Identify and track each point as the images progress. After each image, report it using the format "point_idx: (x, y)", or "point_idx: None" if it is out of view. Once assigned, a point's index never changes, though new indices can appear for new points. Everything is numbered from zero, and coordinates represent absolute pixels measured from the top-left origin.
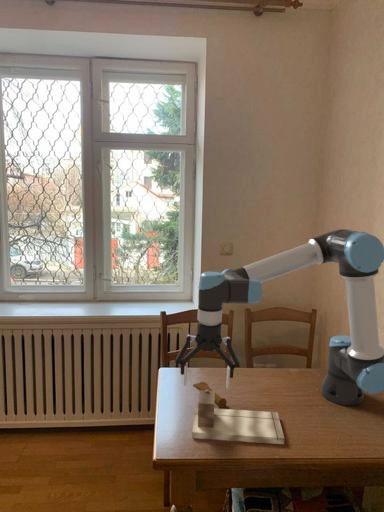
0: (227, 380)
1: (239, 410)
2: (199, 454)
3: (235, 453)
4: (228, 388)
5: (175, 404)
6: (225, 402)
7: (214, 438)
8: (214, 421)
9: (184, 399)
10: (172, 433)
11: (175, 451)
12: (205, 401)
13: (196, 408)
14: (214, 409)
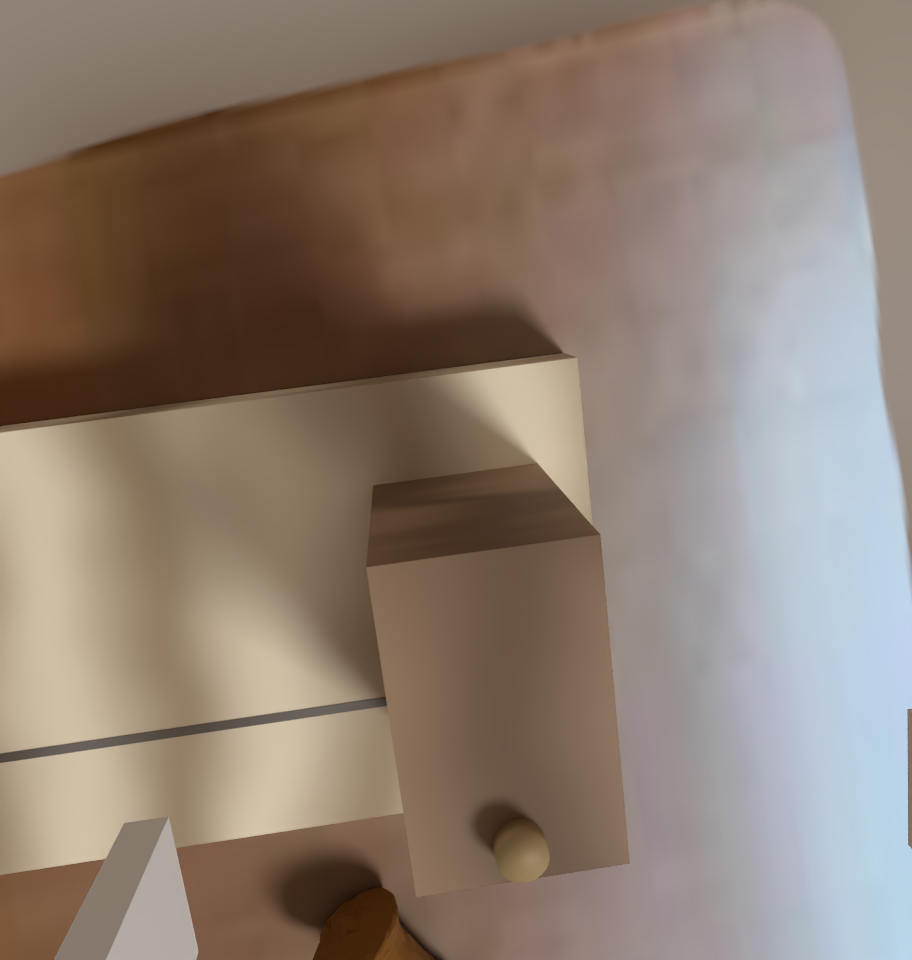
0: (104, 937)
1: None
2: (454, 121)
3: (112, 216)
4: (130, 825)
5: (803, 826)
6: (323, 952)
7: (348, 382)
8: None
9: (731, 924)
10: (758, 379)
11: (686, 114)
12: (506, 603)
13: None
14: None
